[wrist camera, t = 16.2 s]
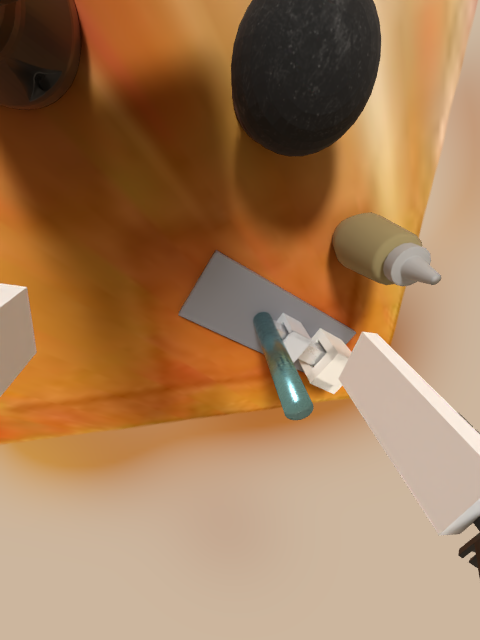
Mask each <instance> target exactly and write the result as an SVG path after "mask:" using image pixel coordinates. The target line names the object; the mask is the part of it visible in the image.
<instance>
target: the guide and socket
mask: <svg viewBox="0 0 480 640" xmlns="http://www.w3.org/2000/svg"><path fill="white" fill-rule="evenodd" d="M260 312H267V313H269V314H270V315H271V317H272V319H273V320H275V321H277V322H279V323H281V324H283V325H285V326H286V328H287V330H288V332H289V334H288V335H287V337H286V338H285V339H284V340H283V342H284V344H285V346H286V349H287V351H288V353H289V355H290V357H291V359H292V361H293V363H294V366H295V368H296V369H298V370H300V371H302V372H304V373H305V374H306V376H307V378H308V380H309V382H310V384H312V385H315V386H317V387H319V388H321V389H324V390H326V391H328V392H330V393H333V394H335V393H336V392H337V391H338V390H339V389H340V387H341V386H342V384H341V382H340V380H339V379H338V378H339V376H340V375H341V373H342V371H343V369H344V367H345V365H346V363H347V361H348V359H349V357H350V355H351V353H352V352H351V351H350V350H349V348H348V347H347V346H346V344H347V343H348V342H349V340H350V339H351V338H352V337H353V336H354V335H355V334H356V332H355V331H354V330H353V329H351V328H349V327H348V326H346V325H344V324H342V323H341V322H339V321H337V320H336V319H334V318H332V317H330V316H329V315H327V314H325V313H324V312H322V311H320V310H318V309H317V308H315V307H313V306H312V305H310V304H308V303H306V302H305V301H303V300H301V299H299V298H298V297H296V296H294V295H293V294H291V293H289V292H287V291H286V290H284V289H282V288H281V287H279V286H277V285H275V284H274V283H272V282H270V281H269V280H267V279H265V278H263V277H262V276H260V275H258V274H257V273H255V272H253V271H251V270H250V269H248V268H246V267H245V266H243V265H241V264H239V263H238V262H236V261H234V260H233V259H231V258H229V257H227V256H226V255H224V254H222V253H220V252H219V251H217V250H215V252H214V254H213V255H212V257H211V259H210V261H209V262H208V264H207V266H206V267H205V269H204V271H203V272H202V274H201V276H200V277H199V279H198V281H197V283H196V284H195V286H194V288H193V289H192V291H191V293H190V294H189V296H188V298H187V299H186V301H185V303H184V305H183V306H182V308H181V310H180V311H179V316H181V317H184V318H186V319H188V320H190V321H192V322H195V323H197V324H199V325H201V326H203V327H205V328H208V329H210V330H212V331H214V332H216V333H219V334H221V335H223V336H225V337H227V338H230V339H232V340H234V341H236V342H238V343H241V344H243V345H245V346H247V347H249V348H252V349H254V350H256V351H258V352H260V353H262V354H264V352H263V349H262V346H261V344H260V341H259V338H258V335H257V332H256V329H255V326H254V323H253V319H254V317H255V315H256V314H258V313H260ZM312 340H313V341H315V342H317V343H319V344H321V345H323V347H324V348H325V350H326V351H327V353H326V354H325V355H324V356H323V358H322V359H321V360H320V361H319V362H318V363H317V364H316V365H315V366H313V365H311V364H308V363H306V362H304V361H302V360H300V359H298V357H299V356H300V355H301V354H302V353H303V352H304V350H305V349H306V348H307V347H308V346H309V344H310V343H311V342H312Z"/></svg>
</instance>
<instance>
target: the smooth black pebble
mask: <svg viewBox="0 0 480 640" xmlns="http://www.w3.org/2000/svg"><path fill="white" fill-rule="evenodd" d="M380 53H381V33H380V23H379V18H378V14H377V11H376V7H375V4H374V2H373V0H252V2H251V3H250V5H249V6H248V8H247V10H246V12H245V14H244V17H243V19H242V21H241V23H240V25H239V28H238V32H237V35H236V39H235V42H234V47H233V55H232V63H231V80H232V99H233V104H234V110H235V113H236V115H237V118H238V121H239V122H240V124H241V126H242V128H243V129H244V131H245V132H246V133H247V134H248V135H249V136H250V137H251V138H252V139H253V140H254V141H256V142H257V143H259V144H261V145H262V146H264V147H265V148H267V149H269V150H271V151H273V152H275V153H277V154H281V155H286V156H304V155H308V154H313V153H316V152H318V151H320V150H322V149H324V148H326V147H329V146H330V145H332V144H333V143H334V142H336V141H337V140H338V139H339V138H341V137H342V136H343V135H344V134H345V132H346V131H347V130H348V129H349V128H350V127H351V126H352V125H353V124H354V123H355V121H356V120H357V118H358V117H359V115H360V114H361V112H362V111H363V109H364V107H365V105H366V103H367V101H368V99H369V97H370V95H371V92H372V89H373V86H374V83H375V80H376V77H377V72H378V66H379V61H380Z"/></svg>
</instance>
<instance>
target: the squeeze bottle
mask: <svg viewBox="0 0 480 640" xmlns="http://www.w3.org/2000/svg"><path fill="white" fill-rule="evenodd" d="M332 243H333V247H334V250H335V253H336V256H337V259H338V261H339V262H340V263H341V264H342V265H343V266H344V267H346V268H349V269H351V270H353V271H355V272H357V273H359V274H361V275H363V276H365V277H367V278H369V279H372V280H374V281H376V282H378V283H381V284H385V285H390V284H396V285H400V286H408V285H411V284H413V283H415V282H417V281H419V282H423V283H427V284H431V285H435V284H437V283H438V282H439V281H440V280H441V275H440V274H439V273H438V272H437V271H435V270H434V269H433V268H432V267H431V266H430V262H431V258H430V253H429V251H428V250H427V249H426V248H424V247H422V242H421V241H420V239H419V238H418V237H417V236H416V235H415V234H413V233H412V232H410V231H408V230H406V229H404V228H402V227H400V226H399V225H397V224H395V223H393V222H391V221H389V220H388V219H386V218H384V217H382V216H380V215H377V214H374V213H363V214H358V215H355V216H352V217H349V218H347V219H345V220H343V221H342V222H341V223H340V224H339V225H338V226H337V227H336V229H335V231H334V234H333V240H332Z"/></svg>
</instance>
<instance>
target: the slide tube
mask: <svg viewBox="0 0 480 640" xmlns="http://www.w3.org/2000/svg"><path fill="white" fill-rule="evenodd" d="M253 323H254V326H255V329H256V332H257V335H258V338H259V341H260V344H261V346H262V349H263V352H264V355H265V358H266V361H267V364H268V367H269V370H270V373H271V375H272V378H273V381H274V384H275V387H276V390H277V393H278V396H279V399H280V401H281V404H282V407H283V410H284V413H285V416H286V417H287V418H289V419H291V420H301V419H303V418H305V417H307V416H309V415H310V413H311V412H312V411H313V404H312V402H311V399H310V397H309V395H308V393H307V391H306V389H305V387H304V385H303V383H302V380H301V378H300V376H299V374H298V372H297V370H296V368H295V366H294V363H293V361H292V359H291V357H290V355H289V353H288V351H287V349H286V346H285V344H284V342H283V340H284V339H285V338H286V337H287V335H288V334H289V332H288V330H287V328H286V326H285V325H283V324H281V323H279V322H277V321H275V320H273V319H272V317H271V315H270V314H269V313H267V312H260V313H258V314H256V315H255V317H254V319H253ZM326 353H327V351H326V350H325V348H324V347H323V345H321V344H319V343H317V342H315V341H313V340H312V342H311V343H310V344H309V346H308V347H307V348H306V349H305V350H304V352H303V353H302V354H301V355H300V356H299V357H298V359H300V360H302V361H304V362H306V363H308V364H311V365H313V366H315V365H316V364H317V363H318V362H319V361H320V360H321V359H322V358H323V356H324V355H325V354H326Z"/></svg>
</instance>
